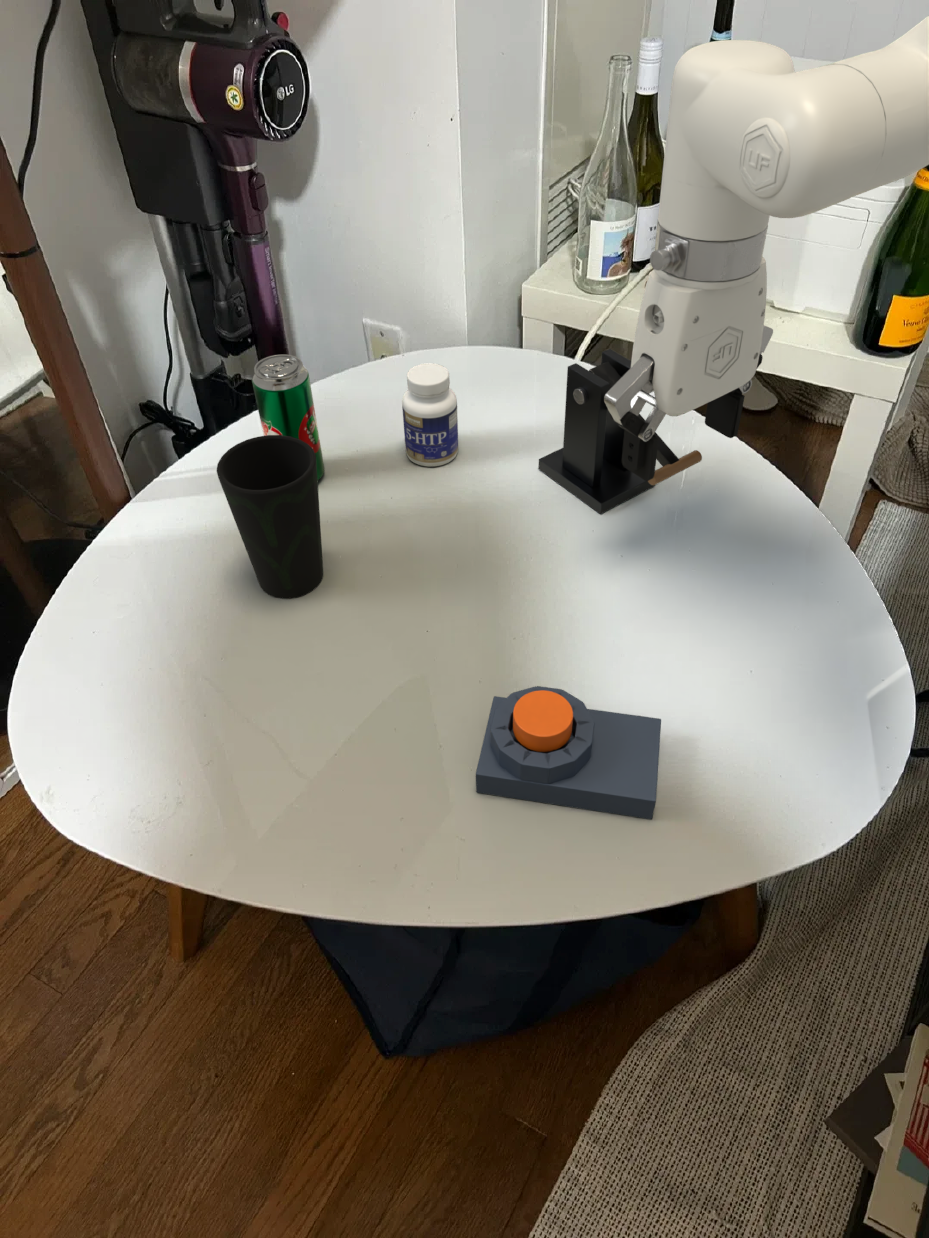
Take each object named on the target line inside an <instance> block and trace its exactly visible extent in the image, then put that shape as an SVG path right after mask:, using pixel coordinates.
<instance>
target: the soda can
mask: <svg viewBox="0 0 929 1238" xmlns="http://www.w3.org/2000/svg"><path fill="white" fill-rule="evenodd" d="M253 372H254V373H253V375H252V378H251V383H252V388H253V392H254V396H255V402H256V407H257V412H258V415H259V420H260V424H261V430H262V434H263V436H266V435H284V436H291V437H294V438H297V439H300V440H302V441H303V442H305V443H307V444H308V445H309V446H310V447H311V448H312V449H313V450H314V452H315V455H316V463H317V479H318V481H320V479H321V478H322V477H323V476H324V473H325V464H324V457H323V452H322V447H321V446H322V445H321V439H320V434H319V427H318V422H317V415H316V410H315V409H316V408H315V404H314V396H313V391H312V390H313V389H312V385H311V384H312V383H311V380H310V375H309V374H310V373H309V371H308V369H307V368H306V367H305V366H304V363H303V361H302V360H301V358H299V357H298V356H295V355H292V354H284V353H283V354H273V355H269V356H266V357H264V358H261V359H260V360H258V361H257V362H256V364H255V365H254V368H253Z"/></svg>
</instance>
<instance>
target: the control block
mask: <svg viewBox="0 0 929 1238" xmlns="http://www.w3.org/2000/svg"><path fill="white" fill-rule="evenodd" d="M540 690H544V691H551V692H555V693H557V694H559V695H561V696H562V697H564V698H565V699H566V700H567V701H568V702H569V704H570V705H571V707H572V710H573V723H572V733H571V736H570V739H569V740H568V741H567V743H566V744H565V745H564V746H562V747H561V748H559V749H557V750H554V751H550V752H537V751H533V750H530V749H528V748H526V747H524V746H523V745H522V744H521V743H520V742H519V741H518V740H517V739H516V737H515V735H514V732H513V710H514V706H515V704H516V703H517V701H518V700H519V699H520V698H521V697H522V696H524V695H526V694H528V693H530V692H533V691H540ZM661 732H662V718H659V717H652V716H651V717H650V716H643V715H638V714H637V715H636V714H629V713H621V712H614V711H607V710H599V709H592V708H588V707H587V706H586V704H585V703H584V701H582V700H580V699H579V698H577V697H576V696H574V695H572V694H571V693H569V692H568V691H566V690H564V689H561V688H557V687H556V688H555V687H547V686H539V685H537V686H536V685H535V686H532V687H528V688H523V689H521V690H518V691H514V692H512V693H510V694H508V696H507V697H503V696H497V695H494V696H493V698H492V703H491V707H490V711H489V715H488V720H487V724H486V727H485V732H484V735H483V736H484V737H483V741H482V746H481V750H480V753H479V759H478V761H477V766H476V771H475V791H476V793H478V794H483V795H484V794H485V795H491V796H496V797H497V796H498V797H504V798H511V799H516V800H523V801H530V802H536V803H543V804H548V805H555V806H562V807H569V808H575V809H581V810H588V811H595V812H601V813H608V814H614V815H621V816H627V817H633V818H641V819H646V820H652V819H653V817H654V812H655V806H656V803H657V789H658V775H659V761H660V760H659V759H660V746H661V745H660V744H661Z"/></svg>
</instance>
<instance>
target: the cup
mask: <svg viewBox="0 0 929 1238" xmlns="http://www.w3.org/2000/svg"><path fill="white" fill-rule="evenodd" d="M216 474H217V478H218V481H219V483H220V486H221V489H222V491H223V493H224V496H225V498H226V501H227V504H228V507H229V509H230V511H231V514H232V518H233V519H234V521H235V524H236V525H235V526H236V527H237V529H238V530H237V531H238V533H239V535H240V538H241V540H242V543H243V545H244V548H245V550H246V553H247V556H248V558H249V561H250V564H251V566H252V569H253V572H254V574H255V576H256V579H257V581H258V584H259V587H260V588H261V590H262V591H263V592H264V593H265V594H267V595H268V596H270V597H273V598H277V599H284V600H285V599H289V600H290V599H296V598H301V597H303V596H306V595H308V594H310V593H312V592H313V591H314V590H315V589H316V588H318V587H319V585H320V584H321V583H322V580H323V578H324V563H323V546H322V531H321V513H320V497H319V480H318V479H317V463H316V455H315V452H314V450H313V449H312V448H311V447H310V446H309V445H308V444H307V443H305V442H303V441H302V440H300V439H297V438H294V437H291V436H284V435H266V436H264V435H260V436H255V437H252V438H249V439H246V440H243V441H241V442H238V443H236V444H235V445H233V446H232V447H231V448H229V449H228V450H226V451H225V452H224V454H222V455H221V457H220V458H219V461H218V462H217V465H216Z"/></svg>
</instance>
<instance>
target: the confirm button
mask: <svg viewBox="0 0 929 1238" xmlns="http://www.w3.org/2000/svg"><path fill="white" fill-rule="evenodd" d="M572 723H573V710H572V707H571V705H570V704H569V702H568V701H567V700H566V699H565V698H564V697H562V696H561V695H559V694H557V693H555V692H551V691H544V690H540V691H533V692H530V693H528V694H526V695H524V696H522V697H521V698H520V699H519V700H518V701H517V703H516V704H515V706H514V710H513V732H514V735H515V737H516V739H517V740H518V741H519V742H520V743H521V744H522V745H523V746H524V747H526V748H528V749H530V750H533V751H537V752H550V751H554V750H557V749H559V748H561V747H562V746H564V745H565V744H566V743H567V741H568V740H569V739H570V736H571V733H572Z"/></svg>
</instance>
